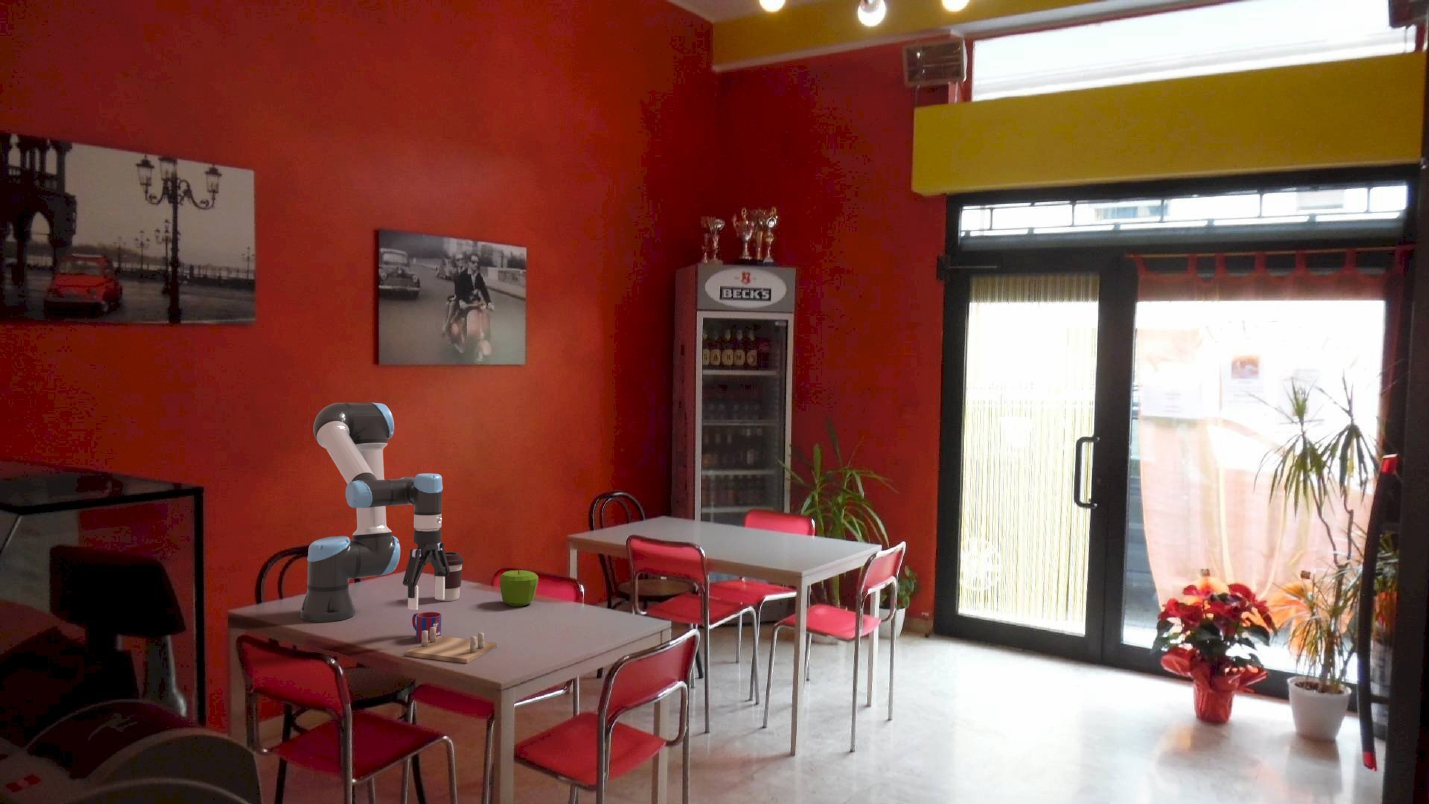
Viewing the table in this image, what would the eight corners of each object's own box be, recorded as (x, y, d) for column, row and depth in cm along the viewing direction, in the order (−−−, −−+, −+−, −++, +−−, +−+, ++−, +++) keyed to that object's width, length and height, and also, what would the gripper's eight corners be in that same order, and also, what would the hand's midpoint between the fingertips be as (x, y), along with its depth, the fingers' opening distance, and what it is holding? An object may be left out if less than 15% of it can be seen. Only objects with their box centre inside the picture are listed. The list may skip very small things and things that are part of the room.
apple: (543, 606, 316) (544, 571, 315) (507, 610, 309) (508, 574, 309) (527, 598, 326) (528, 564, 326) (493, 601, 319) (493, 567, 319)
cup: (424, 643, 270) (425, 619, 270) (404, 636, 277) (405, 612, 276) (445, 638, 275) (446, 614, 275) (425, 631, 282) (426, 608, 281)
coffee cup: (469, 598, 323) (470, 553, 322) (446, 604, 314) (447, 557, 314) (448, 593, 328) (449, 549, 327) (425, 599, 320) (426, 553, 319)
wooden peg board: (406, 655, 258) (406, 636, 258) (438, 640, 274) (439, 621, 273) (467, 663, 253) (467, 643, 253) (496, 647, 269) (497, 628, 268)
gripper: (414, 536, 262) (413, 615, 262) (462, 523, 286) (461, 596, 286) (390, 534, 264) (388, 612, 264) (439, 522, 288) (438, 594, 288)
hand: (426, 604), depth 275 cm, fingers open, 13 cm apart
